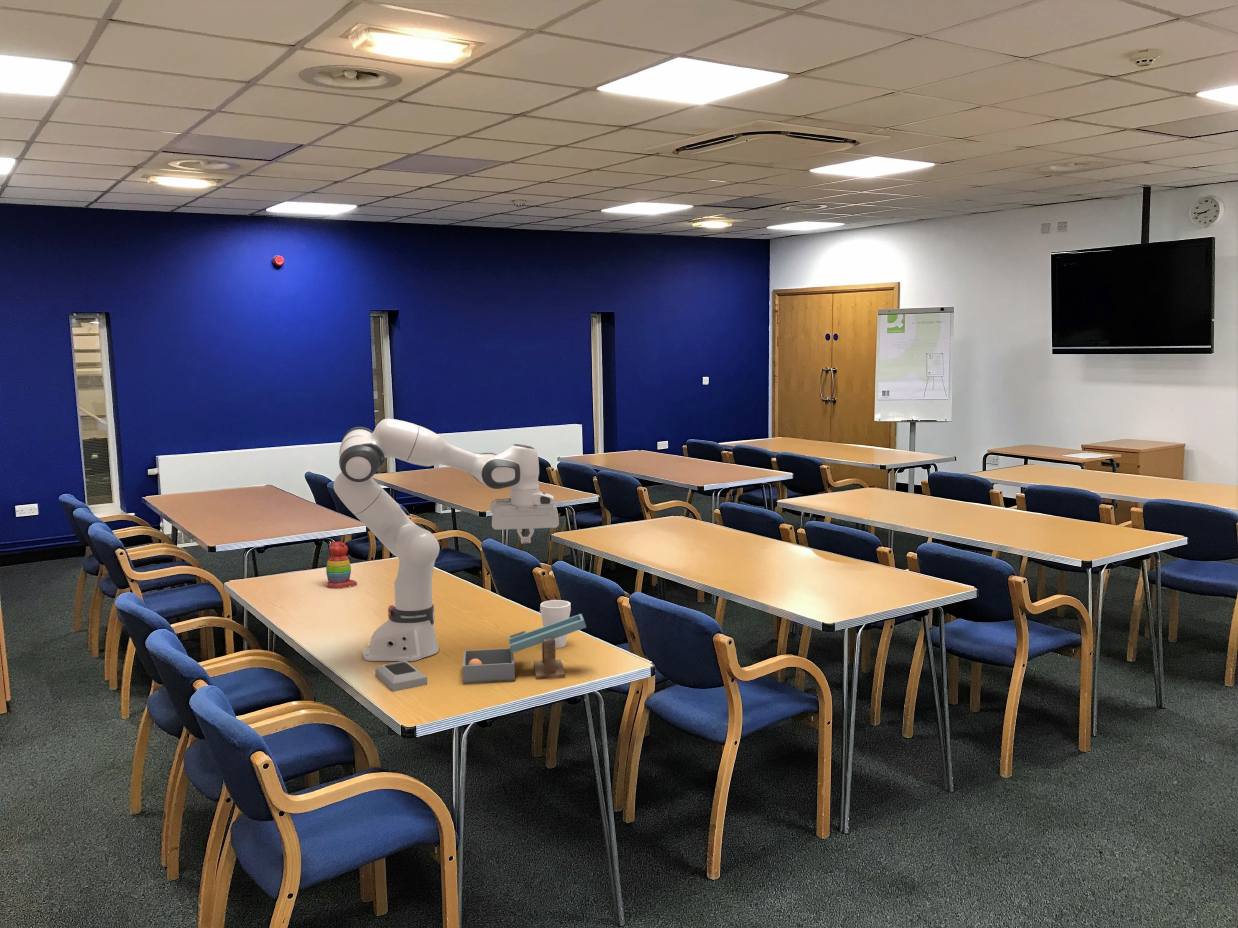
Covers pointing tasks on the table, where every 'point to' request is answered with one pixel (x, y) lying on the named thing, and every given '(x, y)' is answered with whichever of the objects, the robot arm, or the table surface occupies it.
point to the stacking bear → (339, 567)
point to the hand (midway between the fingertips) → (525, 543)
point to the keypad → (400, 675)
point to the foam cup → (555, 616)
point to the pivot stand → (548, 662)
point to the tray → (488, 666)
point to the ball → (475, 662)
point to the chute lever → (545, 633)
